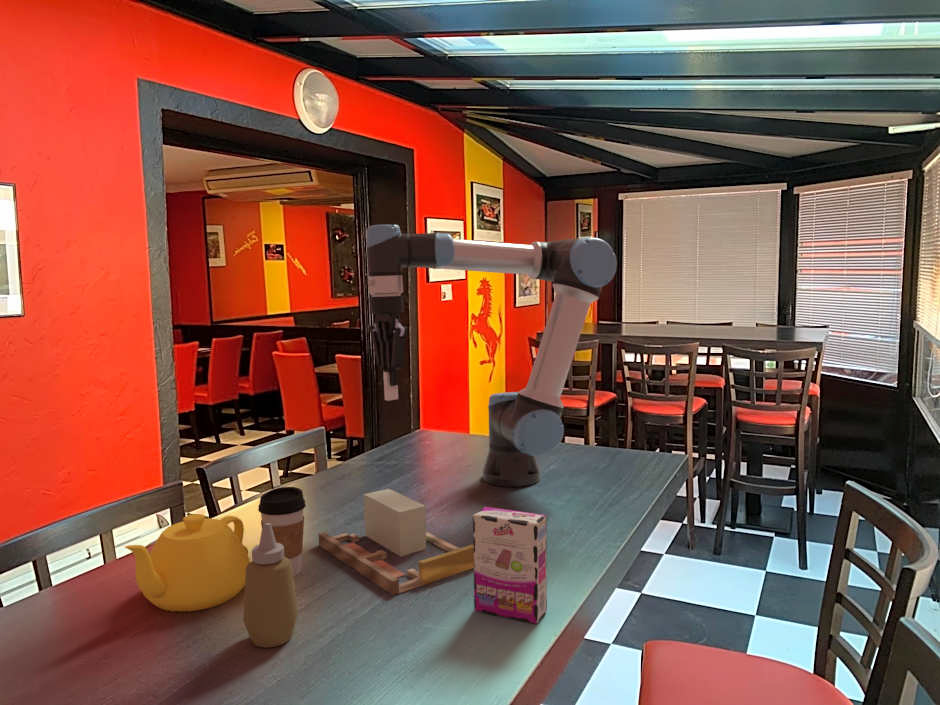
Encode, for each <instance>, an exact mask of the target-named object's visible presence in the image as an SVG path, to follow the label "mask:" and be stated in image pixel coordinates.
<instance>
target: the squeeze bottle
mask: <svg viewBox="0 0 940 705" xmlns="http://www.w3.org/2000/svg"><path fill="white" fill-rule="evenodd" d="M243 600H244V601H243V613H242V614H243V617H242V618H243V619H242V622H243V624H244V626H245V629H246V631H247V633H248V635H249V637H250V640H251V642H252V644H253V645H254V646H256V647H258V648H265V649H267V648H274V647H278V646H281V645H284V644H286V643H287V642H288V641H290V639H291V638H292V636H293V633H294V629H295V626H296V623H297V619H298V614H299V607H298V600H297V594H296V586H295V580H294V576H293V573H292V566H291V561H290V560H289V559H288V558H286V557H284V546H283V545H282V544H280V543H276V540H275V537H274V533H273V530H272V526H271V524H270V523H265V524H263V526H261V532H260V539H259V544H257V545H255V546H253V547H252V549H251V561H250V563H249V564H248V565H247V567H246V578H245V586H244V597H243Z"/></svg>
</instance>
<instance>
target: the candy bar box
mask: <svg viewBox="0 0 940 705" xmlns="http://www.w3.org/2000/svg"><path fill="white" fill-rule="evenodd" d="M472 538H473V539H472V540H473V542H472V544H473V546H474V568H473V594H474V595H473V598H474V599H473V604H474V605H473V606H474V607H473V608H474V609H473V610H474V611H475V612H478V613H483V614H488V615H493V616H497V617H502V618H506V619H507V618H508V619H512V620H515V621H517V620H518V621H522V622H527V623H531V624H538V623H539V622H540V620H541V619H542V618H543V617H544V615H546V613H547V611H548V610H547V609H548V595H547V590H548V589H547V586H548V585H547V584H548V583H547V580H548V578H547V574H548V572H547V571H548V570H547V567H548V566H547V514H540V513H534V512H525V511H520V510H519V511H518V510H512V509H505V508H498V507H489V506H484V507H482V508H481V509H480V510H478V511H477V512H475V513H474V514H472Z"/></svg>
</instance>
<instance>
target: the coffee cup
mask: <svg viewBox="0 0 940 705" xmlns="http://www.w3.org/2000/svg"><path fill="white" fill-rule="evenodd" d="M257 508H258V509H257V510H258V512H259V513H260V518H261V520H260V525H261V527H262V526H263V524H265V523H270V524H271V526H272V530H273V533H274V537H275V540H276V543H280V544H282V545H283V546H284V557H286V558H288V559H289V560H290V561H291V566H292V573H293V577H295V576H297V575H299V574H300V573H301V571H302V564H303V562H302V558H303V545H304V544H303V543H304V542H303V541H304V528H305V526H304V525H305V516H304V509H305V508H306V500H305V499H304V493H303V490H302V489H301V488H299V487H295V486H284V487H283V486H282V487H278V488H274V489H271V490H269V491H267V492H264V493H263V494H262V495H261V496H260V498H259V504H258V507H257Z"/></svg>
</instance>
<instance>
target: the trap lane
mask: <svg viewBox="0 0 940 705" xmlns="http://www.w3.org/2000/svg"><path fill="white" fill-rule="evenodd" d="M345 541H351V542H349V543H345V544H344V543H343V542H345ZM427 541H428V542H429V543H432V545H435V546H437V547H438V548H441V549H442V550H444V551H446V552H445V553H444V552H443V553H441V554H437V555H435V556H431V557H428V558H425V559H422V560H419V561H418V570H416V569H414V568H409V569H407V570H406V574H405V573H404V572H402V571H400V570H398V568H395V567H394V566H393V565H391V564H389V563H388V562H386V561H384V560H385V559H387V558H388V552H386V551H384V550H382V549H380V550H376V551H375V552H373V553H371V552H370V551H368V550H366V549H365V548H364V547H362V546H361V545H358V544H357V543H356V542H360V536H359V535H357V534H356V533H351V534H348V533H342V534H338V535H335V536H331V535H329V534H328V533H326V532H325V531H322V532H319V533H318V546H319V547H321V548H322V549H324V550H325V551H327V552H328V553H330V554H331V555H333V556H334V557H335V558H336V559H339V560H340V561H342V562H343V563H344V564H346V565H347V566H349V567H350V568H352V569H353V570H355V571H357V573H359V574H361V575H362V576H364V577H365V578H367V579H368V580H369V581H371V582H372V583H374V584H376V585H377V586H378V587H380V588H381V589H383V590H384V591H386V592H388V593H389V594H390V595H391V596H395V595H398V594H399V595H400V594H401V593H404V592H407V591H411V590H413V589H415V588H418V587H421V586H425V585H427V584H431V583H433V582H437V581H439V580H442V579H446V578H449V577H452V576H454V575H456V574H460V573H463V572H465V571H469V570H471V569H474V546H473V543H472V544H469V545H467V546H463V547H460V548H459V547H457V546H455V545H453V544H452V543H450V542H447V541H445V540H444V539H442V538H440V537H439V536H435V535H434V534H432V533H430V532H428V531H426V542H427ZM405 576H408V577H409V578H410V580H407V581H405V582H401V583H399V582H400V581H399V580H400V579H398V578H402V577H405Z"/></svg>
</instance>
